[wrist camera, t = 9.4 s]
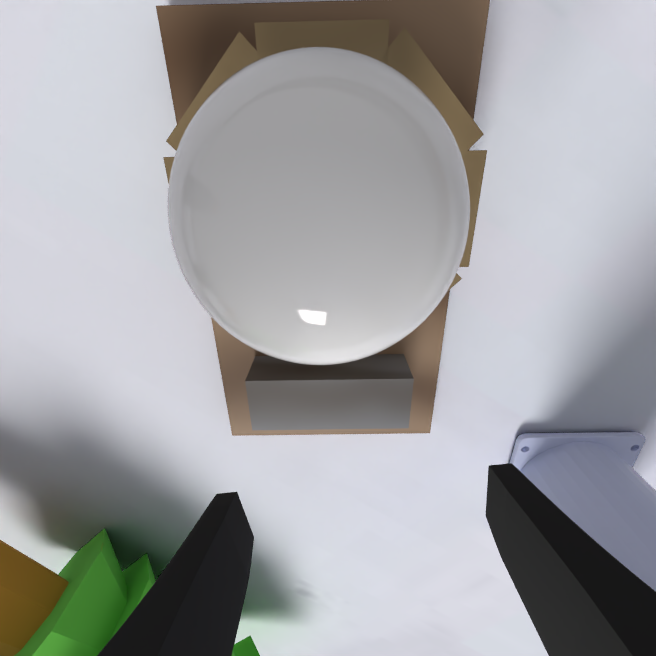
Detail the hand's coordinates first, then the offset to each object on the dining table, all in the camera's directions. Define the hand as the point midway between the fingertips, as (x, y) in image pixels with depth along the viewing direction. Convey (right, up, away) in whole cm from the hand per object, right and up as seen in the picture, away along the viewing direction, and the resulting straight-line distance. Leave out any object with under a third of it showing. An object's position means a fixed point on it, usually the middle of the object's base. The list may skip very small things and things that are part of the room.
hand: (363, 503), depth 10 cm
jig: (-1, +8, +8) cm, 11 cm away
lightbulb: (-1, +11, +5) cm, 12 cm away
